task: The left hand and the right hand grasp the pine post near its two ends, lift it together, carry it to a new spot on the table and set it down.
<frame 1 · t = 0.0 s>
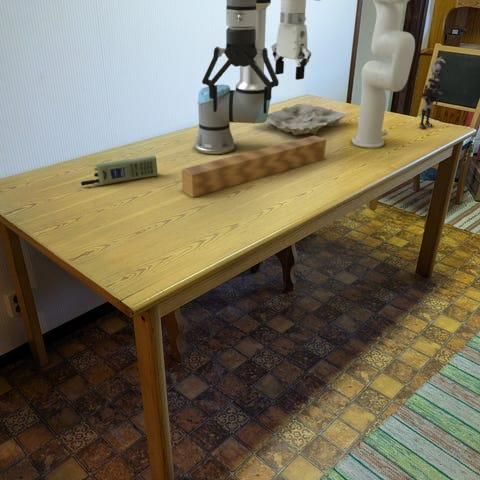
left hand: (240, 111, 138), 28 cm above the table, tool pointing down, fingers open, 13 cm apart
right hand: (289, 76, 164), 31 cm above the table, tool pointing down, fingers open, 9 cm apart
handheld radio: (120, 181, 166), on the table
post: (258, 173, 173), on the table
figurine: (424, 126, 223), on the table
grey rock slab: (299, 127, 221), on the table
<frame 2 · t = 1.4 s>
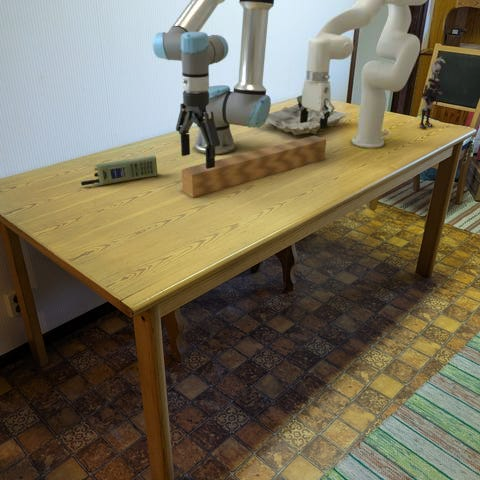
left hand: (197, 161, 155), 10 cm above the table, tool pointing down, fingers open, 13 cm apart
right hand: (313, 125, 180), 13 cm above the table, tool pointing down, fingers open, 9 cm apart
nothing on the table moved.
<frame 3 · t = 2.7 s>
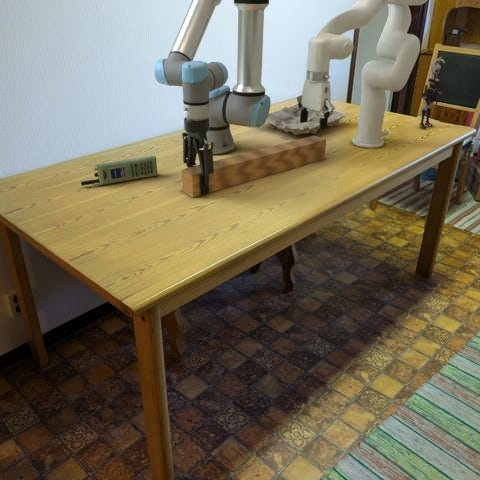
left hand: (198, 189, 160), 0 cm above the table, tool pointing down, fingers closed on post, 6 cm apart
right hand: (313, 125, 180), 13 cm above the table, tool pointing down, fingers open, 9 cm apart
post: (258, 173, 173), on the table, touching left hand
everything else where it was.
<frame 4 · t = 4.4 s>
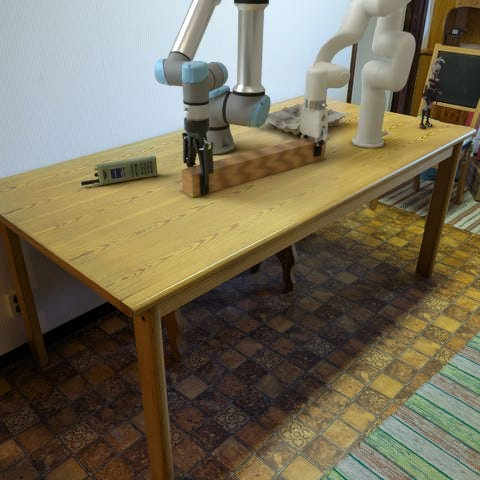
left hand: (198, 189, 160), 0 cm above the table, tool pointing down, fingers closed on post, 6 cm apart
right hand: (310, 152, 185), 2 cm above the table, tool pointing down, fingers closed on post, 6 cm apart
post: (258, 173, 173), on the table, touching right hand, left hand
everything else where it was.
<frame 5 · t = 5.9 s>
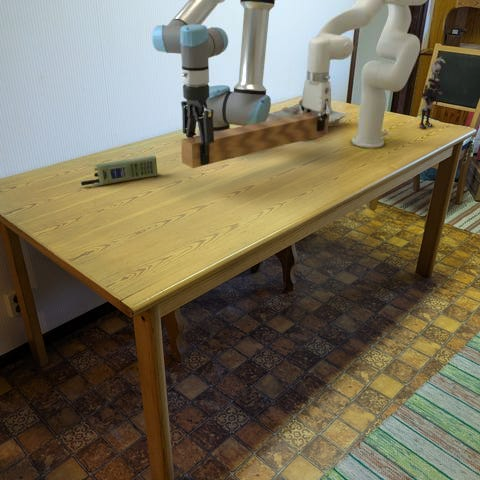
left hand: (199, 160, 155), 10 cm above the table, tool pointing down, fingers closed on post, 6 cm apart
right hand: (313, 127, 181), 12 cm above the table, tool pointing down, fingers closed on post, 6 cm apart
post: (260, 147, 169), point 9 cm above the table, touching right hand, left hand
everything else where it was.
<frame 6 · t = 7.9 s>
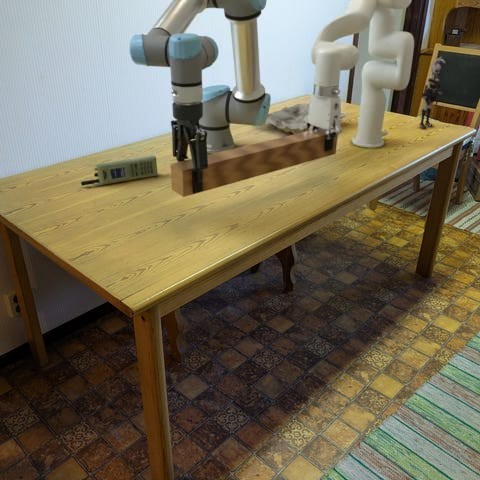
left hand: (190, 187, 136), 10 cm above the table, tool pointing down, fingers closed on post, 6 cm apart
right hand: (320, 146, 162), 12 cm above the table, tool pointing down, fingers closed on post, 6 cm apart
post: (261, 170, 150), point 10 cm above the table, touching right hand, left hand
everything else where it was.
when the left hand's fingers open (2 cm above the table, at t = 9.3 s): post drops 1 cm, on the table.
when the right hand's fingers open (3 cm above the table, at t = 9.5 s): post stays where it is, on the table.
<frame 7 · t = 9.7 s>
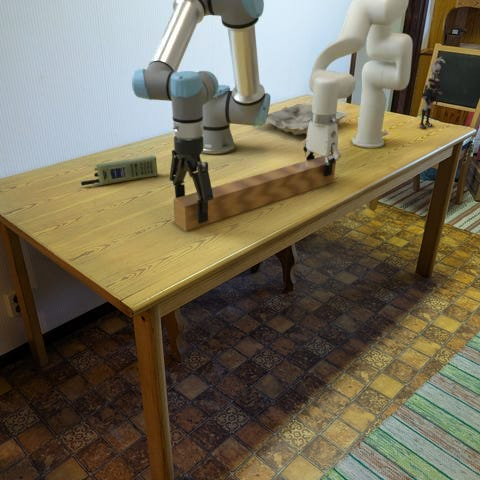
left hand: (191, 214, 139), 3 cm above the table, tool pointing down, fingers open, 10 cm apart
right hand: (318, 171, 165), 4 cm above the table, tool pointing down, fingers open, 7 cm apart
post: (261, 200, 154), on the table
everything else where it was.
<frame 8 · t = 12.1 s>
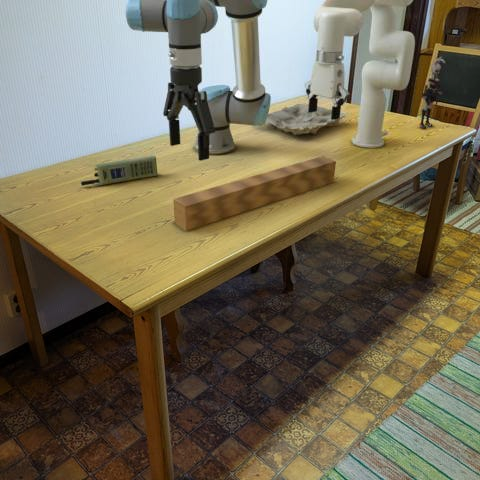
left hand: (189, 151, 130), 21 cm above the table, tool pointing down, fingers open, 13 cm apart
right hand: (323, 115, 156), 22 cm above the table, tool pointing down, fingers open, 9 cm apart
nothing on the table moved.
at the end: post inside the target area (0.6 cm from its centre), on the table; post tilted 0°; post never tilted more than 1° during the clip; both hands held the post at the same time; the left hand is holding nothing; the right hand is holding nothing; post at rest at the end (0.0 cm/s) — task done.
